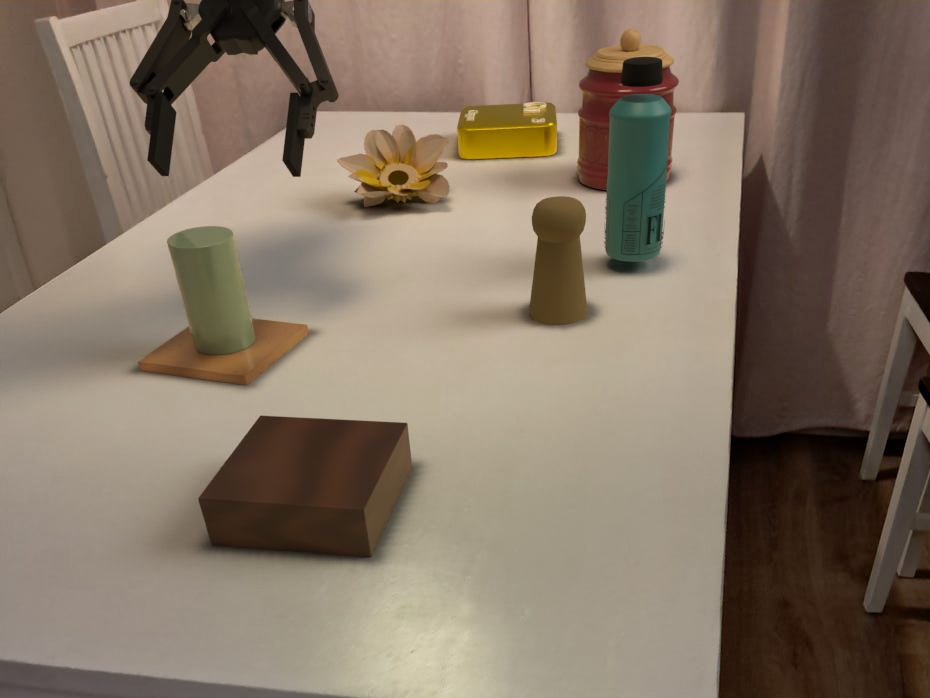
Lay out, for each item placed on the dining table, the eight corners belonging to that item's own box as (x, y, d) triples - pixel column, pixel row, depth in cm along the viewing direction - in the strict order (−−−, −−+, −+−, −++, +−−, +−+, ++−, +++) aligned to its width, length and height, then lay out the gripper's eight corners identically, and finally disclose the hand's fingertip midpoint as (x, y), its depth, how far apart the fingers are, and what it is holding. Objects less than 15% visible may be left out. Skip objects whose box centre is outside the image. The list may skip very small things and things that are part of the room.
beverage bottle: (647, 279, 100) (662, 66, 87) (591, 270, 103) (598, 62, 90) (670, 260, 104) (688, 53, 91) (617, 251, 107) (626, 50, 94)
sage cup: (182, 351, 90) (153, 245, 83) (216, 326, 94) (191, 223, 87) (235, 358, 88) (209, 250, 81) (267, 332, 92) (245, 228, 85)
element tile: (463, 135, 150) (461, 102, 147) (555, 131, 150) (555, 98, 146) (457, 161, 139) (455, 125, 136) (557, 156, 138) (557, 121, 135)
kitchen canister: (572, 193, 125) (574, 39, 113) (581, 166, 134) (584, 21, 122) (669, 193, 122) (682, 36, 111) (672, 165, 132) (684, 18, 120)
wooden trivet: (140, 371, 89) (137, 361, 88) (209, 322, 97) (207, 312, 97) (247, 386, 85) (244, 375, 85) (309, 333, 94) (307, 324, 93)
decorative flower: (332, 209, 118) (328, 119, 114) (342, 204, 128) (338, 122, 124) (449, 211, 119) (449, 122, 114) (449, 207, 129) (450, 125, 124)
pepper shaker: (590, 324, 92) (594, 207, 85) (530, 326, 92) (528, 211, 85) (584, 300, 97) (588, 188, 89) (527, 303, 97) (525, 191, 89)
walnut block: (211, 545, 66) (197, 498, 64) (270, 459, 75) (260, 415, 72) (371, 557, 64) (363, 509, 62) (412, 468, 73) (407, 422, 70)
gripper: (384, -20, 90) (361, 191, 89) (150, -12, 94) (125, 189, 93) (362, -84, 83) (336, 144, 82) (109, -72, 87) (81, 145, 86)
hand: (223, 169), depth 88 cm, fingers open, 13 cm apart
